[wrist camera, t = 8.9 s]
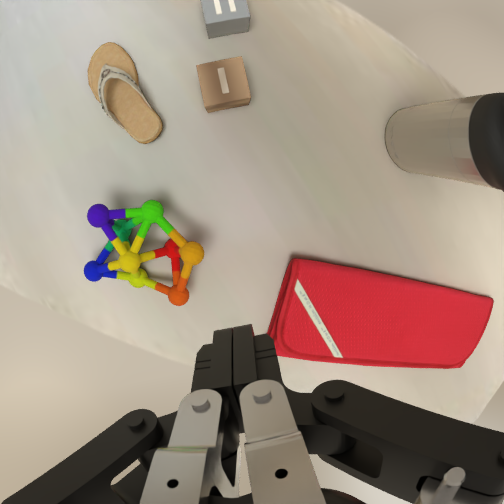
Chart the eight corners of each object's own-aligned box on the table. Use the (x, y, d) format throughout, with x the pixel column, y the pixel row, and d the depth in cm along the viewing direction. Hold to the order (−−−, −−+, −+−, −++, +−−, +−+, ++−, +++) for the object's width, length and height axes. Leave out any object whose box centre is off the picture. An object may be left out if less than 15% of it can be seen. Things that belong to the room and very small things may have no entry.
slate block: (240, 1, 32) (241, -17, 27) (248, 31, 33) (250, 15, 28) (202, 8, 32) (198, -10, 27) (208, 38, 33) (205, 23, 28)
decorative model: (175, 327, 39) (63, 289, 33) (176, 281, 46) (81, 245, 40) (223, 254, 34) (88, 199, 27) (218, 212, 40) (109, 165, 34)
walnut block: (240, 68, 34) (241, 55, 30) (248, 104, 36) (251, 97, 31) (200, 76, 34) (196, 64, 30) (208, 113, 36) (204, 106, 31)
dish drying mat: (455, 365, 51) (464, 375, 48) (260, 348, 46) (262, 362, 43) (489, 295, 47) (501, 303, 44) (289, 249, 42) (295, 257, 38)
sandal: (116, 39, 32) (103, 27, 27) (182, 120, 36) (175, 115, 31) (78, 72, 33) (62, 64, 28) (141, 154, 37) (128, 154, 32)
